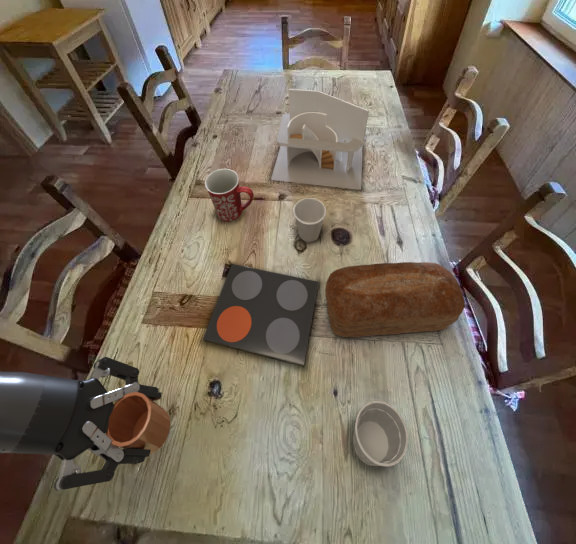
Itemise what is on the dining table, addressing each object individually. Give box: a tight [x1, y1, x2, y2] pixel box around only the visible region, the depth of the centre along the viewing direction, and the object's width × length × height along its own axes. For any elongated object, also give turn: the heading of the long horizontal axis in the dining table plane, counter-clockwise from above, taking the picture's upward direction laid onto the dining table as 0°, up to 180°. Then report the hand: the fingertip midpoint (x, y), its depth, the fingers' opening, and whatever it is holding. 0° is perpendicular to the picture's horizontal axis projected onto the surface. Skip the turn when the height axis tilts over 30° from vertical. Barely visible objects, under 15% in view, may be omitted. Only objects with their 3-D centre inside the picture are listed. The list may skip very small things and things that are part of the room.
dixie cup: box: [292, 197, 327, 243], centre depth 89 cm, size 8×8×10 cm
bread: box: [324, 261, 466, 338], centre depth 72 cm, size 12×28×14 cm, turn 94°
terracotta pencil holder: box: [105, 392, 172, 455], centre depth 49 cm, size 6×6×10 cm
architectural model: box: [270, 88, 370, 191], centre depth 104 cm, size 28×21×23 cm
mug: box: [204, 168, 254, 223], centre depth 94 cm, size 13×9×14 cm
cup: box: [352, 400, 409, 467], centre depth 57 cm, size 8×8×12 cm
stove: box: [202, 263, 320, 368], centre depth 77 cm, size 18×22×2 cm
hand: (153, 423), depth 49 cm, fingers closed on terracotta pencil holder, 6 cm apart
